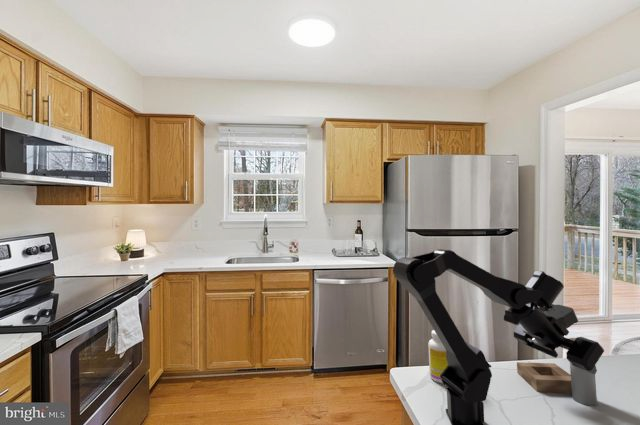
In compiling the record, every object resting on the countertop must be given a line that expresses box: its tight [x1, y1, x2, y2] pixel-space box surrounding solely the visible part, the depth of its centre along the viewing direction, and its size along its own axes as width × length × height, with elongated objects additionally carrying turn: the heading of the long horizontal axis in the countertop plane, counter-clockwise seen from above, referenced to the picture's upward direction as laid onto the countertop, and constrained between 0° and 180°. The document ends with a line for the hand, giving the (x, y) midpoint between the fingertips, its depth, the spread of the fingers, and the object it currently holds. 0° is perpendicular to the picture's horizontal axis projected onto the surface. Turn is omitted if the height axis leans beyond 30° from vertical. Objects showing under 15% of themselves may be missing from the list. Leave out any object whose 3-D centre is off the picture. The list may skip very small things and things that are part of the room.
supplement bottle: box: [427, 329, 448, 384], centre depth 87 cm, size 7×7×13 cm
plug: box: [568, 337, 598, 407], centre depth 75 cm, size 5×5×14 cm
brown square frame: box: [516, 361, 572, 394], centre depth 83 cm, size 10×10×3 cm
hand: (574, 363), depth 75 cm, fingers open, 9 cm apart
